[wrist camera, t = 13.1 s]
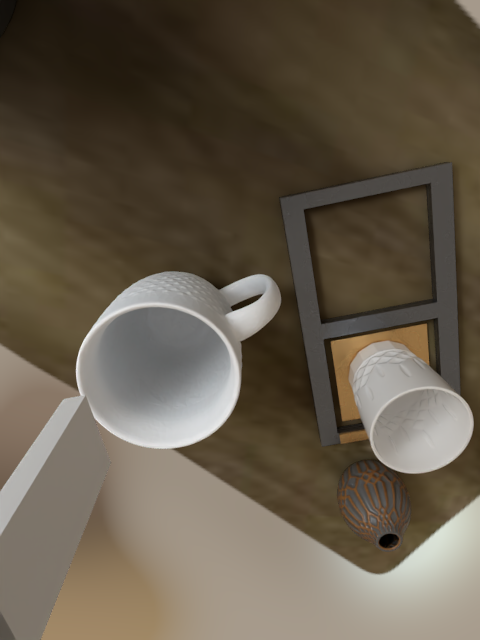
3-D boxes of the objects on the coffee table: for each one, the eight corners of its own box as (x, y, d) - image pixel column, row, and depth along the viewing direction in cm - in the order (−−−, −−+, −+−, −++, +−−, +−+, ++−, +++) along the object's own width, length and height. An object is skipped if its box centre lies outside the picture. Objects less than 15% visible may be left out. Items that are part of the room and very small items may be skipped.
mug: (243, 210, 39) (246, 240, 27) (298, 317, 42) (323, 386, 30) (97, 289, 41) (39, 349, 29) (161, 384, 45) (133, 473, 33)
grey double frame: (279, 197, 38) (280, 198, 37) (446, 161, 38) (453, 162, 36) (320, 440, 47) (322, 447, 46) (456, 416, 46) (462, 423, 45)
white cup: (368, 420, 46) (402, 490, 37) (326, 364, 44) (350, 424, 35) (438, 378, 44) (491, 440, 35) (397, 318, 42) (443, 367, 33)
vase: (397, 496, 50) (429, 565, 42) (334, 505, 50) (353, 575, 42) (394, 444, 48) (427, 506, 39) (328, 454, 48) (347, 517, 40)
